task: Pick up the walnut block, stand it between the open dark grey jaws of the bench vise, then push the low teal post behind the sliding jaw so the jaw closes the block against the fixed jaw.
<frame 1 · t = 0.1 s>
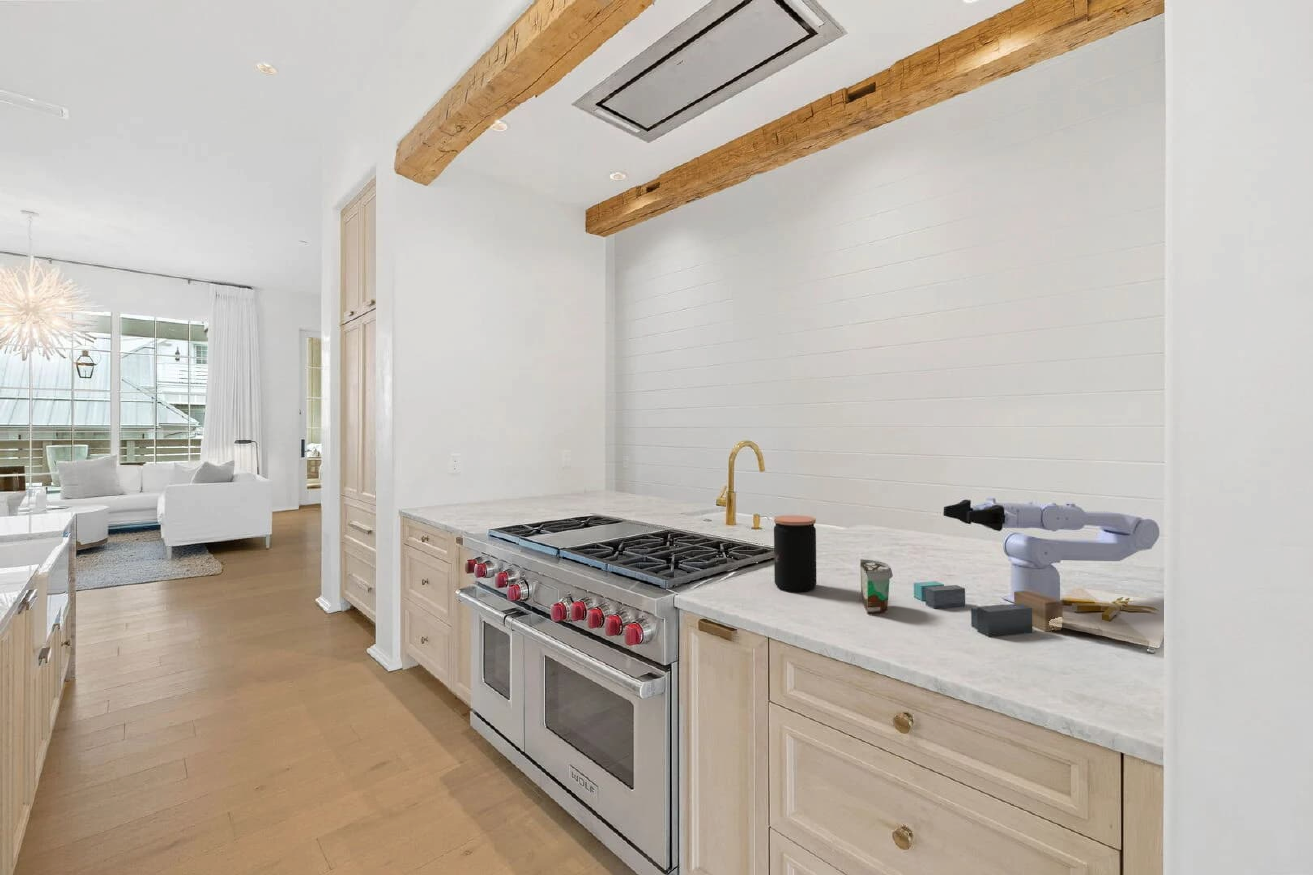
hand: (955, 513, 133), 22 cm above the worktop, tool horizontal, fingers open, 7 cm apart
food container: (878, 609, 134), on the worktop
coffee jar: (795, 588, 153), on the worktop
sliding jaw: (936, 592, 139), point 2 cm above the worktop, slide at 0.0 cm
walnut block: (1037, 624, 122), on the worktop
fixed jaw: (971, 617, 127), on the worktop
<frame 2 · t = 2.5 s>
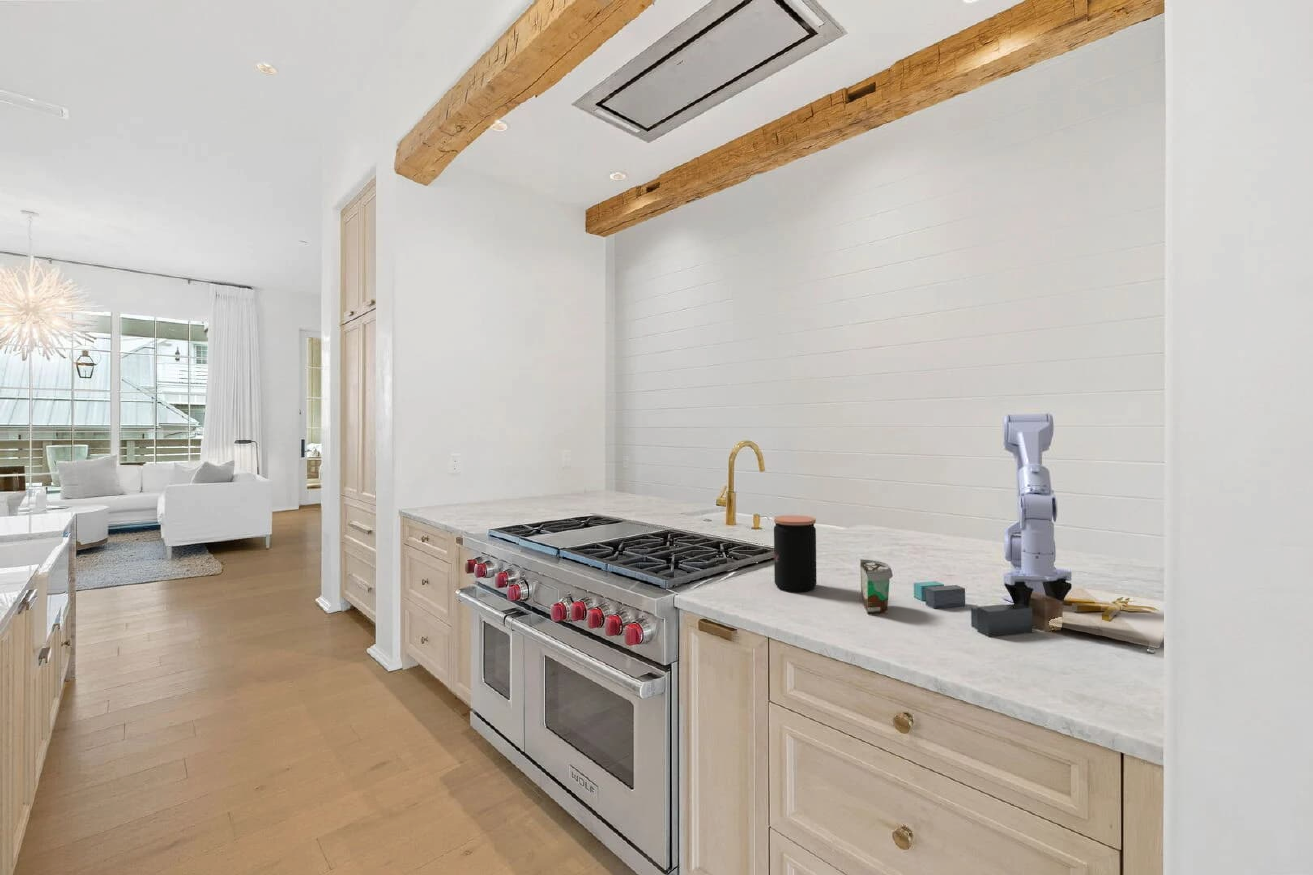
hand: (1037, 616, 122), 2 cm above the worktop, tool pointing down, fingers open, 7 cm apart
nothing on the worktop moved.
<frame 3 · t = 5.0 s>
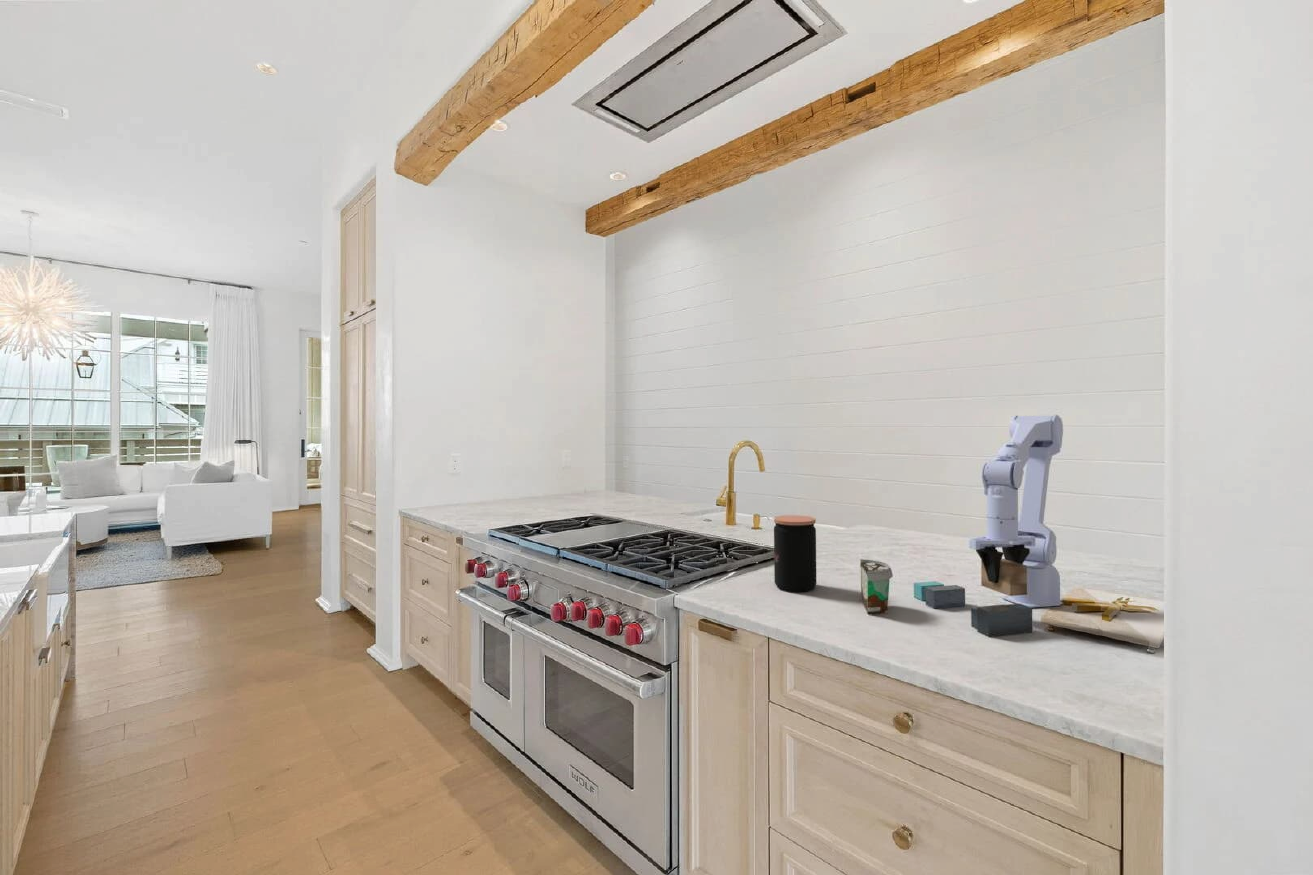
hand: (1002, 581, 125), 8 cm above the worktop, tool pointing down, fingers closed on walnut block, 4 cm apart
walnut block: (1003, 590, 125), point 7 cm above the worktop, touching gripper
everything else where it was.
when the fingers open (2 cm above the worktop, at t = 7.0 s): walnut block stays where it is, on the worktop.
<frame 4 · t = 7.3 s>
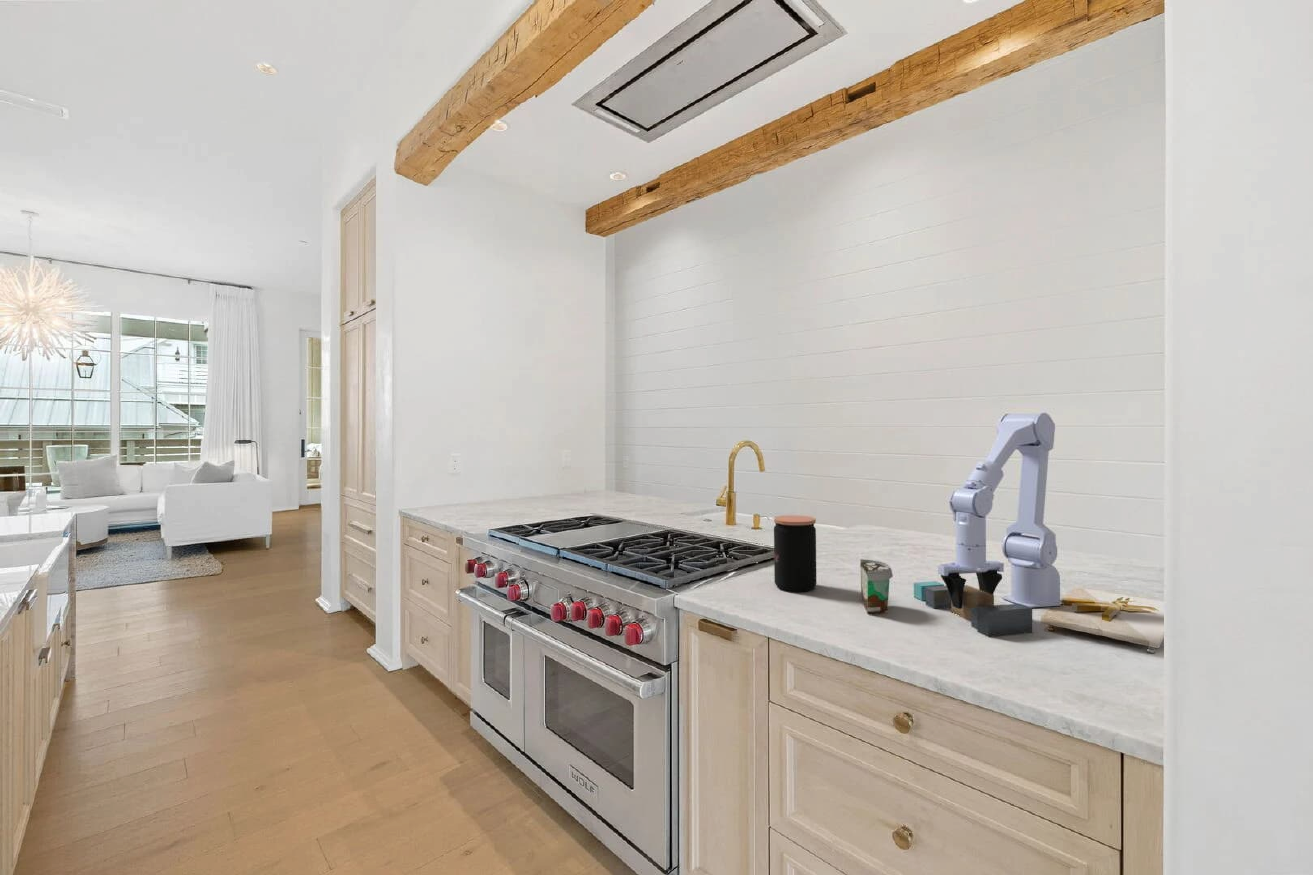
hand: (971, 606, 127), 2 cm above the worktop, tool pointing down, fingers open, 6 cm apart
walnut block: (972, 618, 127), on the worktop
everything else where it was.
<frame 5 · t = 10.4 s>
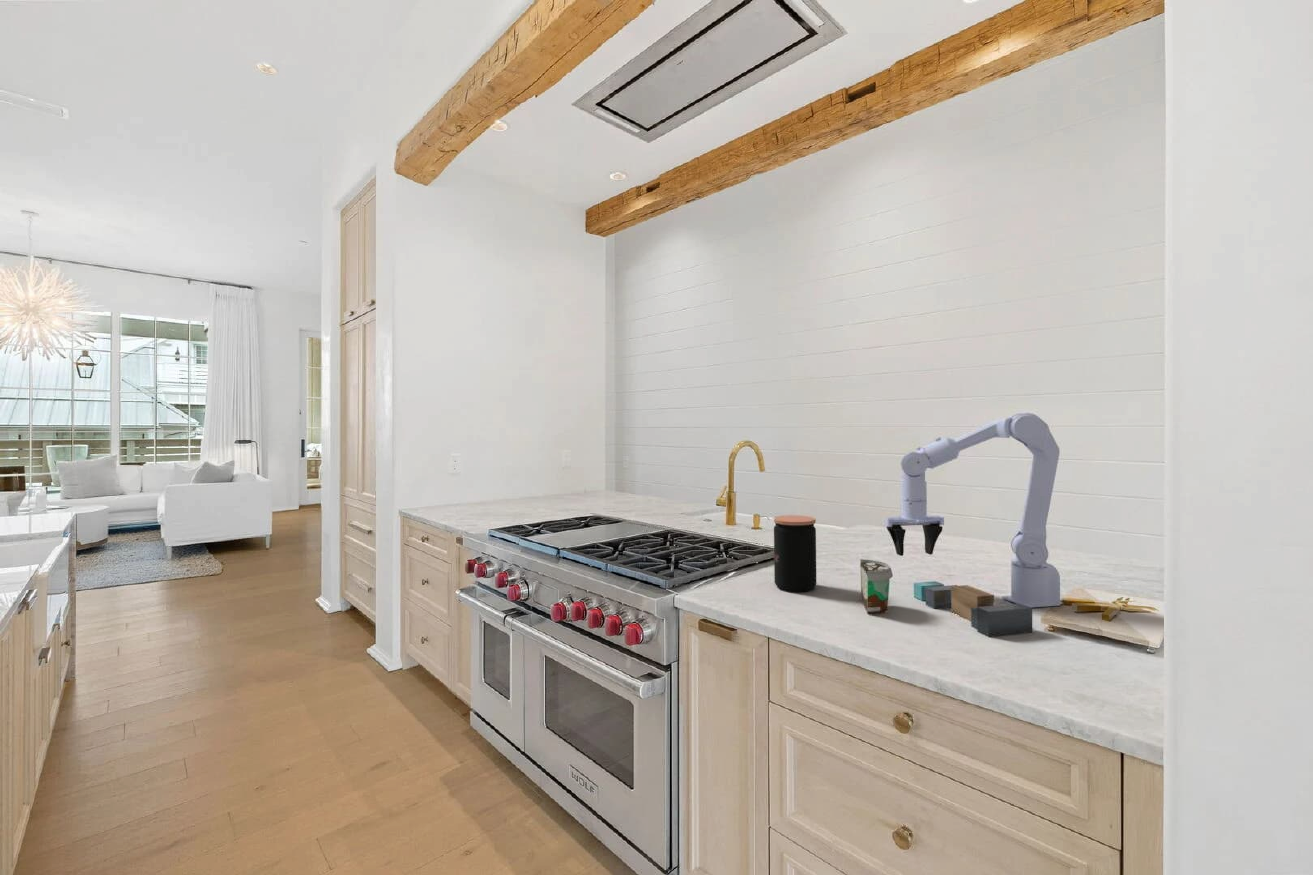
hand: (914, 554, 147), 9 cm above the worktop, tool pointing down, fingers open, 7 cm apart
nothing on the worktop moved.
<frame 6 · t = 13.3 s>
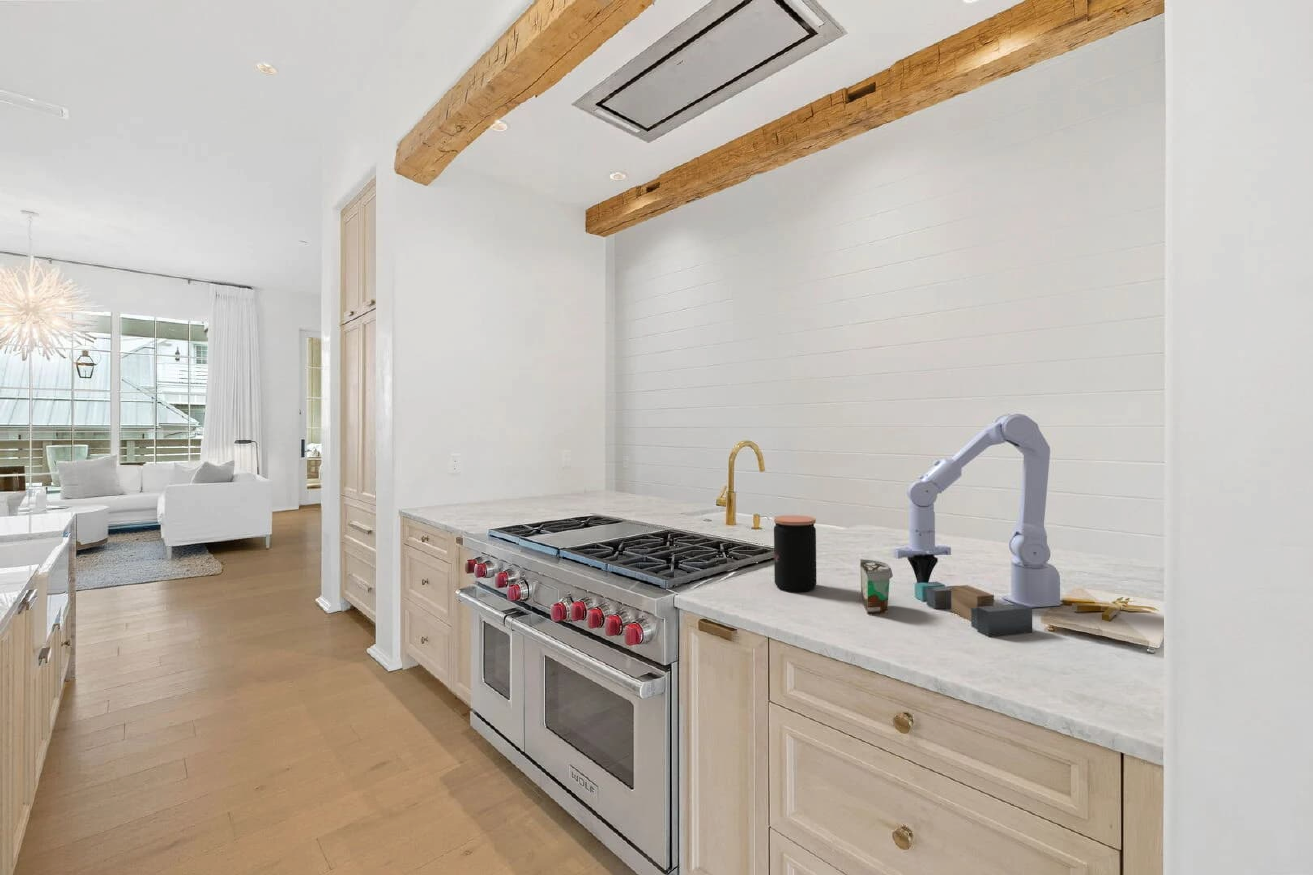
hand: (922, 585, 144), 2 cm above the worktop, tool pointing down, fingers closed
sliding jaw: (937, 593, 138), point 2 cm above the worktop, slide at 0.4 cm, touching gripper
everything else where it was.
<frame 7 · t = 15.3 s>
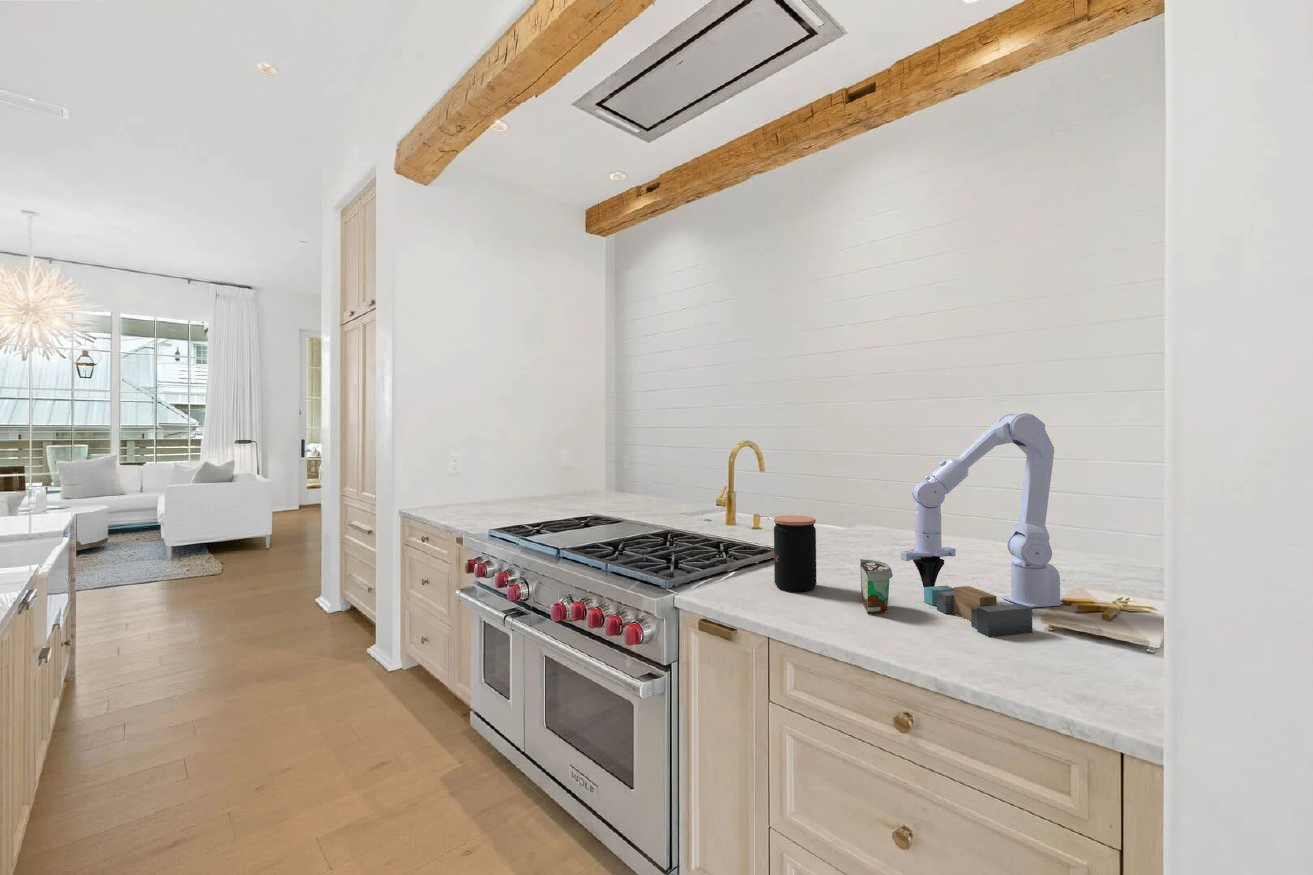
hand: (928, 588, 142), 2 cm above the worktop, tool pointing down, fingers closed
sliding jaw: (948, 597, 135), point 2 cm above the worktop, slide at 4.0 cm
everything else where it was.
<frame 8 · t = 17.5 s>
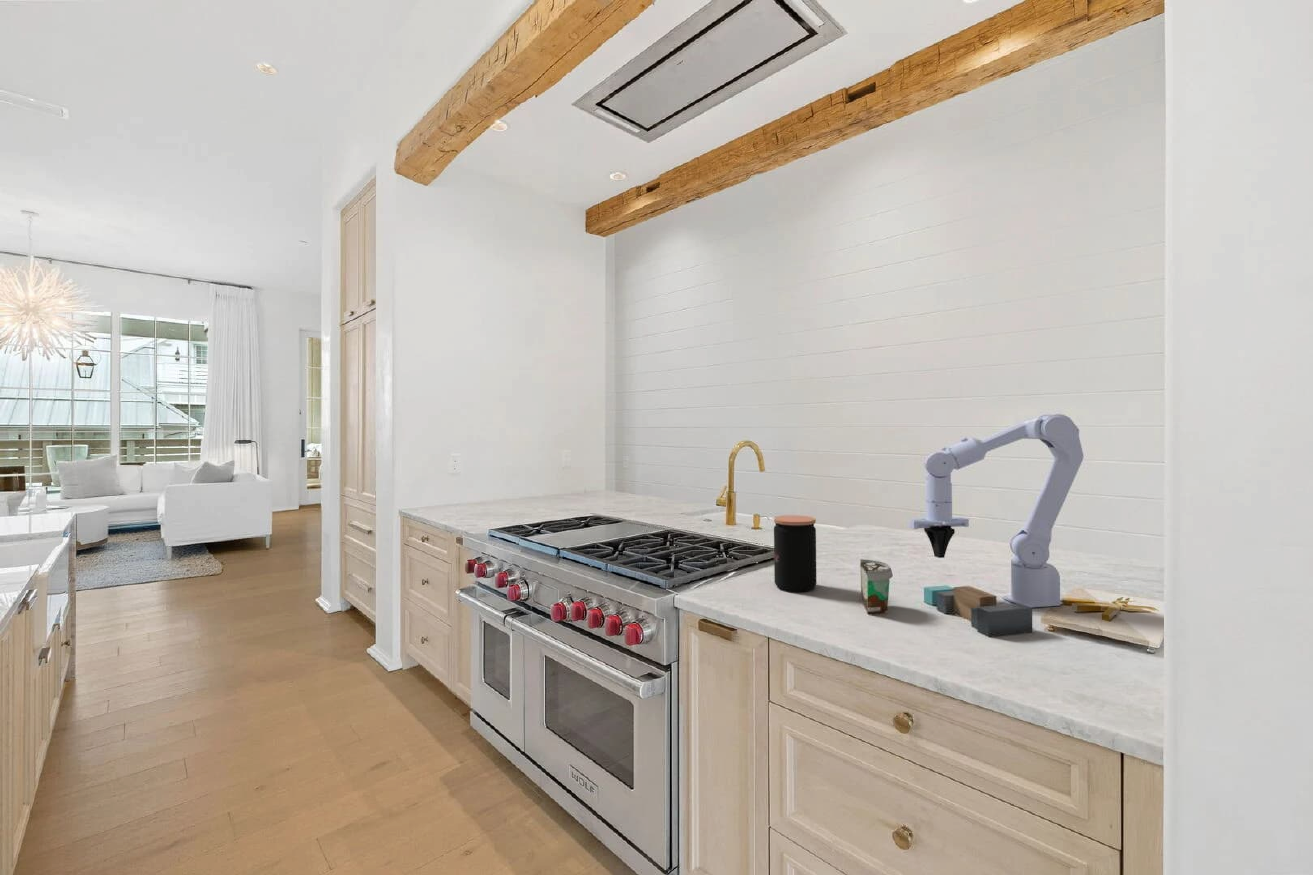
hand: (939, 556, 144), 9 cm above the worktop, tool pointing down, fingers closed
nothing on the worktop moved.
at the end: sliding jaw slide at 4.0 cm; walnut block 0.8 cm off-centre on the fixed jaw, point 0.0 cm above the fixed jaw's base; walnut block tilted 0° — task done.
